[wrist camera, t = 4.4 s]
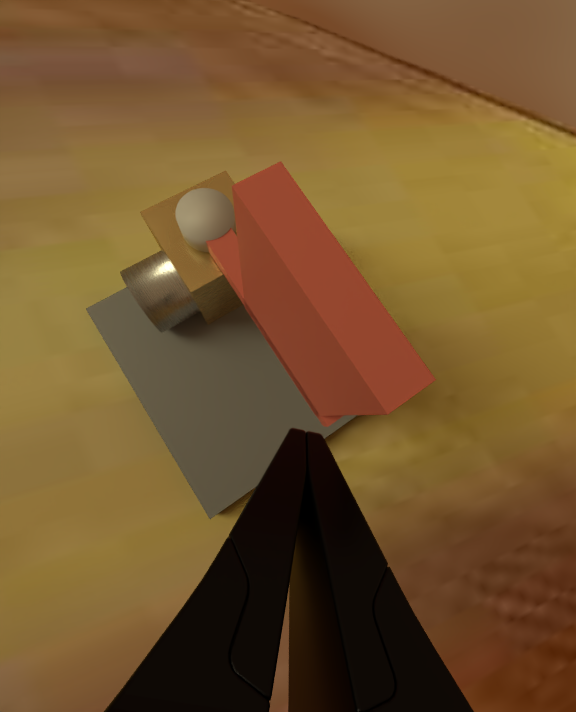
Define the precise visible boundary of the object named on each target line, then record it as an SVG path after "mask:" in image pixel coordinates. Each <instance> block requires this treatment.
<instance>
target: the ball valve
mask: <svg viewBox="0 0 576 712" xmlns="http://www.w3.org/2000/svg"><path fill="white" fill-rule="evenodd" d="M234 184H235V183H234V182H233V181H232V179H231V178H230V176H229V175H228V173H227V172H226V171H224V172H222V173H220V174H218V175H216V176H213V177H211V178H209V179H207V180H205V181H203V182H201V183H199V184H197V185H195V186H193V187H191V188H189V189H187V190H185V191H183V192H180V193H178V194H176V195H174V196H172V197H170V198H168V199H166V200H164V201H162V202H160V203H158V204H156V205H154V206H152V207H150V208H148V209H145V210H143V211H141V212H140V213H141V215H142V217H143V219H144V220H145V222H146V224H147V226H148V227H149V229H150V231H151V233H152V234H153V236H154V238H155V240H156V241H157V243H158V245H159V247H160V248H161V251H159V252H157V253H155V254H153V255H152V256H150V257H148V258H146V259H144V260H142V261H140V262H138V263H136V264H134V265H132V266H130V267H128V268H126V269H124V270H122V271H121V272H120V273H121V276H122V278H123V280H124V282H125V284H126V286H127V287H128V289H129V290H130V292H131V294H132V295H133V297H134V298H135V300H136V301H137V303H138V304H139V306H140V307H141V309H142V310H143V311H144V313H145V314H146V316H147V317H148V318H149V319H150V321H151V322H152V323H153V325H154V326H155V327H156V328H157V329H158V330H159V331H160V332H161V333H163V332H164V331H166V330H168V329H170V328H172V327H173V326H175V325H177V324H179V323H180V322H182V321H184V320H186V319H187V318H189V317H191V316H193V315H194V314H196V313H198V312H200V313H201V314H202V316H203V318H204V319H205V321H206V322H207V324H208V325H209V324H211V323H212V322H214V321H216V320H218V319H219V318H221V317H223V316H225V315H226V314H228V313H230V312H231V311H233V310H235V309H237V308H238V307H240V306H242V305H243V303H242V302H241V300H240V299H239V297H238V295H237V294H236V292H235V291H234V289H233V288H232V286H231V285H230V283H229V282H228V280H227V279H226V277H225V276H224V274H223V273H222V271H221V269H220V268H219V266H218V265H217V263H216V262H215V260H214V259H213V257H212V256H211V254H210V253H209V252H202V251H199V250H196V249H194V248H193V247H191V246H190V245H189V244H188V243H187V242H186V241H185V239H184V237H183V235H182V233H181V230H180V228H179V225H178V223H177V220H176V214H175V213H176V207H177V204H178V202H179V201H180V199H181V198H182V197H183V196H184V195H185V194H187V193H188V192H190V191H192V190H195V189H199V188H210V189H214V190H217V191H219V192H221V193H223V194H224V195H225V196H226V197H227V198H228V199H229V200H230V202H231V203H232V206H233V209H234V202H233V193H232V185H234ZM234 215H235V211H234ZM235 224H236V221H235ZM235 234H236V236H237V230H236V232H235Z"/></svg>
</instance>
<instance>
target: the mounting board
mask: <svg viewBox="0 0 576 712" xmlns="http://www.w3.org/2000/svg"><path fill="white" fill-rule="evenodd" d="M86 310H87V312H88V313H89V315H90V317H91V318H92V320H93V322H94V323H95V325H96V327H97V329H98V330H99V332H100V334H101V335H102V337H103V339H104V340H105V342H106V344H107V345H108V347H109V349H110V351H111V352H112V354H113V356H114V357H115V359H116V361H117V362H118V364H119V366H120V368H121V369H122V371H123V373H124V374H125V376H126V378H127V379H128V381H129V383H130V384H131V386H132V388H133V390H134V391H135V393H136V395H137V396H138V398H139V400H140V401H141V403H142V405H143V407H144V408H145V410H146V412H147V413H148V415H149V417H150V418H151V420H152V422H153V423H154V425H155V427H156V429H157V430H158V432H159V434H160V435H161V437H162V439H163V440H164V442H165V444H166V446H167V447H168V449H169V451H170V452H171V454H172V456H173V457H174V459H175V461H176V462H177V464H178V466H179V468H180V469H181V471H182V473H183V474H184V476H185V478H186V479H187V481H188V483H189V485H190V486H191V488H192V490H193V491H194V493H195V495H196V496H197V498H198V500H199V501H200V503H201V505H202V507H203V508H204V510H205V512H206V513H207V515H208V517H209V518H210V519H211V518H212V517H214V516H215V515H217V514H218V513H219V512H221V511H222V510H224V509H225V508H227V507H228V506H229V505H231V504H232V503H234V502H235V501H236V500H238V499H239V498H241V497H242V496H244V495H245V494H246V493H248V492H249V491H251V490H252V489H253V488H255V487H256V486H257V485H258V483H259V482H260V480H261V478H262V476H263V475H264V473H265V471H266V469H267V468H268V466H269V464H270V463H271V461H272V459H273V457H274V456H275V454H276V452H277V450H278V449H279V447H280V445H281V443H282V442H283V440H284V438H285V436H286V435H287V433H288V431H289V430H290V428H297V429H301V430H304V431H305V432H307V431H311V432H316V433H320V434H322V436H323V437H324V438H326V437H327V436H329V435H330V434H332V433H333V432H334V431H336V430H337V429H339V428H340V427H342V426H343V425H344V424H346V423H347V422H349V421H350V420H351V419H353V418H354V417H356V416H357V415H344V416H343V417H341V418H340V419H338V420H337V421H336V422H334V423H333V424H331V425H330V426H328V427H325V426H323V425H322V424H321V422H320V421H319V419H318V418H317V416H315V414H314V413H313V411H312V410H311V408H310V407H309V405H308V403H307V402H306V400H305V399H304V397H303V396H302V394H301V393H300V391H299V390H298V388H297V387H296V385H295V384H294V382H293V381H292V379H291V377H290V376H289V374H288V373H287V371H286V370H285V368H284V367H283V365H282V364H281V362H280V361H279V359H278V358H277V356H276V355H275V353H274V351H273V350H272V348H271V347H270V345H269V344H268V342H267V341H266V339H265V338H264V336H263V335H262V333H261V332H260V330H259V329H258V327H257V325H256V324H255V322H254V321H253V319H252V318H251V316H250V315H249V313H248V312H247V310H246V309H245V306H244V305H242V306H240V307H238V308H237V309H235V310H233V311H231V312H230V313H228V314H226V315H225V316H223V317H221V318H219V319H218V320H216V321H214V322H212V323H211V324H209V325H208V324H207V322H206V321H205V319H204V318H203V316H202V314H201V313H200V312H198V313H196V314H194V315H193V316H191V317H189V318H187V319H186V320H184V321H182V322H180V323H179V324H177V325H175V326H173V327H172V328H170V329H168V330H166V331H164V332H163V333H161V332H160V331H159V330H158V329H157V328H156V327H155V326H154V325H153V323H152V322H151V321H150V319H149V318H148V317H147V316H146V314H145V313H144V311H143V310H142V309H141V307H140V306H139V304H138V303H137V301H136V300H135V298H134V297H133V295H132V294H131V292H130V290H129V289H128V287H126V288H124V289H122V290H121V291H119V292H117V293H115V294H113V295H111V296H109V297H107V298H105V299H103V300H102V301H100V302H98V303H96V304H94V305H92V306H90V307H88V308H86Z"/></svg>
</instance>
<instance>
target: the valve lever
mask: <svg viewBox="0 0 576 712" xmlns="http://www.w3.org/2000/svg"><path fill="white" fill-rule="evenodd" d="M232 193H233V202H234V209H233V206H232V203H231V202H230V200H229V199H228V198H227V197H226V196H225V195H224V194H223V193H221V192H219V191H217V190H214V189H210V188H199V189H195V190H192V191H190V192H188V193H187V194H185V195H184V196H183V197H182V198H181V199H180V201H179V202H178V204H177V207H176V213H175V214H176V220H177V223H178V225H179V228H180V230H181V233H182V235H183V237H184V239H185V241H186V242H187V243H188V244H189V245H190V246H191V247H193V248H194V249H196V250H199V251H202V252H209V253H210V254H211V256H212V257H213V259H214V260H215V262H216V263H217V265H218V266H219V268H220V269H221V271H222V273H223V274H224V276H225V277H226V279H227V280H228V282H229V283H230V285H231V286H232V288H233V289H234V291H235V292H236V294H237V295H238V297H239V299H240V300H241V302H242V303H243V305H244V306H245V309H246V310H247V312H248V313H249V315H250V316H251V318H252V319H253V321H254V322H255V324H256V325H257V327H258V329H259V330H260V332H261V333H262V335H263V336H264V338H265V339H266V341H267V342H268V344H269V345H270V347H271V348H272V350H273V351H274V353H275V355H276V356H277V358H278V359H279V361H280V362H281V364H282V365H283V367H284V368H285V370H286V371H287V373H288V374H289V376H290V377H291V379H292V381H293V382H294V384H295V385H296V387H297V388H298V390H299V391H300V393H301V394H302V396H303V397H304V399H305V400H306V402H307V403H308V405H309V407H310V408H311V410H312V411H313V413H314V414H315V416H317V418H318V419H319V421H320V422H321V424H322V425H323V426H325V427H328V426H330V425H331V424H333V423H334V422H336V421H337V420H338V419H340V418H341V417H343V416H344V415H387V414H389V413H390V412H392V411H393V410H395V409H396V408H397V407H399V406H400V405H402V404H403V403H404V402H406V401H407V400H409V399H410V398H411V397H413V396H414V395H415V394H417V393H418V392H420V391H421V390H422V389H424V388H425V387H427V386H428V385H429V384H431V383H432V382H434V381H435V380H436V379H435V378H434V376H433V375H432V374H431V372H430V371H429V369H428V368H427V367H426V365H425V364H424V362H423V361H422V360H421V358H420V357H419V355H418V354H417V353H416V351H415V350H414V348H413V347H412V345H411V344H410V343H409V341H408V340H407V338H406V337H405V336H404V334H403V333H402V331H401V330H400V329H399V327H398V326H397V324H396V323H395V322H394V320H393V319H392V317H391V316H390V314H389V313H388V312H387V310H386V309H385V307H384V306H383V305H382V303H381V302H380V300H379V299H378V298H377V296H376V295H375V293H374V292H373V291H372V289H371V288H370V286H369V285H368V284H367V282H366V281H365V279H364V278H363V276H362V275H361V274H360V272H359V271H358V269H357V268H356V267H355V265H354V264H353V262H352V261H351V260H350V258H349V257H348V255H347V254H346V253H345V251H344V250H343V248H342V247H341V245H340V244H339V243H338V241H337V240H336V238H335V237H334V236H333V234H332V233H331V231H330V230H329V229H328V227H327V226H326V224H325V223H324V222H323V220H322V219H321V217H320V216H319V215H318V213H317V212H316V210H315V209H314V207H313V206H312V205H311V203H310V202H309V200H308V199H307V198H306V196H305V195H304V193H303V192H302V191H301V189H300V188H299V186H298V185H297V184H296V182H295V181H294V179H293V178H292V177H291V175H290V174H289V172H288V171H287V169H286V168H285V167H284V165H283V164H282V162H279V163H277V164H275V165H273V166H271V167H269V168H267V169H265V170H262V171H260V172H258V173H256V174H254V175H252V176H250V177H248V178H246V179H244V180H242V181H240V182H238V183H236V184H234V185H232ZM234 211H235V215H234ZM235 221H236V224H235ZM236 230H237V236H236V234H235V232H236Z"/></svg>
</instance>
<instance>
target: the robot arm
mask: <svg viewBox="0 0 576 712" xmlns="http://www.w3.org/2000/svg"><path fill="white" fill-rule="evenodd" d="M387 566H388V563H387V561H386V559H385V557H384V555H383V553H382V551H381V549H380V547H379V545H378V543H377V541H376V539H375V537H374V535H373V533H372V531H371V529H370V527H369V526H368V524H367V522H366V520H365V518H364V516H363V514H362V512H361V510H360V508H359V506H358V504H357V502H356V500H355V498H354V496H353V494H352V492H351V490H350V488H349V486H348V484H347V482H346V480H345V479H344V477H343V475H342V473H341V471H340V469H339V467H338V465H337V463H336V461H335V459H334V457H333V455H332V453H331V451H330V449H329V447H328V445H327V443H326V441H325V439H324V437H323V436H322V434H320V433H316V432H311V431H307V432H305V431H304V430H301V429H297V428H290V430H289V431H288V433H287V435H286V436H285V438H284V440H283V442H282V443H281V445H280V447H279V449H278V450H277V452H276V454H275V456H274V457H273V459H272V461H271V463H270V464H269V466H268V468H267V469H266V471H265V473H264V475H263V476H262V478H261V480H260V482H259V483H258V485H257V487H256V489H255V490H254V492H253V494H252V496H251V497H250V499H249V501H248V503H247V504H246V506H245V508H244V510H243V511H242V513H241V515H240V516H239V518H238V520H237V522H236V523H235V525H234V527H233V529H232V530H231V532H230V534H229V537H228V538H227V539H226V540H225V542H224V544H223V546H222V547H221V549H220V551H219V553H218V554H217V556H216V558H215V559H214V561H213V563H212V564H211V566H210V567H209V569H208V571H207V572H206V574H205V575H204V577H203V579H202V580H201V582H200V583H199V584H198V586H197V587H196V589H195V590H194V592H193V593H192V594H191V596H190V597H189V599H188V600H187V602H186V603H185V604H184V606H183V607H182V609H181V610H180V611H179V613H178V614H177V615H176V617H175V618H174V619H173V621H172V622H171V623H170V625H169V626H168V628H167V629H166V630H165V632H164V633H163V634H162V636H161V637H160V638H159V640H158V641H157V642H156V644H155V645H154V646H153V648H152V649H151V650H150V652H149V653H148V654H147V656H146V657H145V659H144V660H143V661H142V663H141V664H140V665H139V667H138V668H137V669H136V671H135V672H134V673H133V675H132V676H131V677H130V679H129V680H128V681H127V683H126V684H125V685H124V687H123V688H122V689H121V691H120V692H119V693H118V694H117V696H116V697H115V698H114V700H113V701H112V702H111V703H110V705H109V706H108V707H107V708H106V710H105V711H104V712H269V708H270V703H269V701H270V700H271V696H272V690H273V683H274V677H275V671H276V664H277V658H278V652H279V645H280V639H281V633H282V626H283V620H284V614H285V607H286V601H287V595H288V588H289V582H290V593H289V705H288V712H474V711H473V710H472V708H471V706H470V705H469V703H468V701H467V700H466V698H465V697H464V695H463V693H462V692H461V690H460V688H459V687H458V685H457V684H456V682H455V680H454V679H453V677H452V675H451V674H450V672H449V671H448V669H447V667H446V666H445V664H444V662H443V661H442V659H441V658H440V656H439V654H438V653H437V651H436V649H435V648H434V646H433V644H432V643H431V641H430V639H429V638H428V636H427V634H426V633H425V631H424V629H423V628H422V626H421V624H420V622H419V621H418V619H417V617H416V616H415V614H414V612H413V610H412V608H411V606H410V605H409V603H408V601H407V599H406V597H405V595H404V593H403V592H402V590H401V588H400V586H399V584H398V582H397V580H396V578H395V576H394V574H393V572H392V570H391V568H390V567H387Z"/></svg>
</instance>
